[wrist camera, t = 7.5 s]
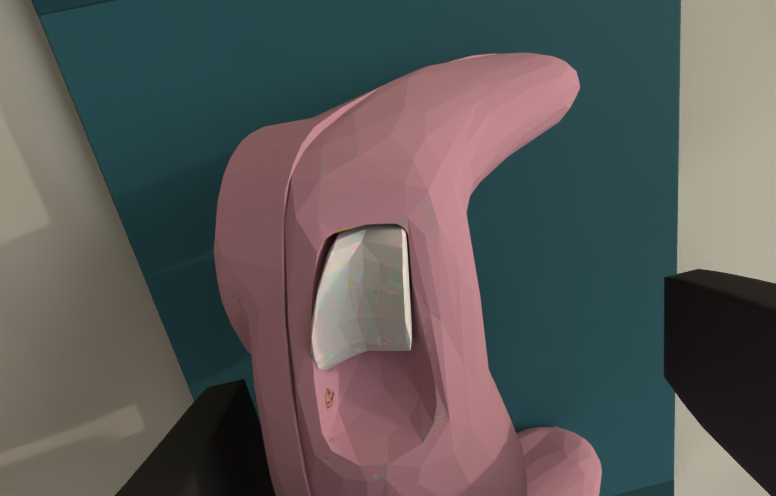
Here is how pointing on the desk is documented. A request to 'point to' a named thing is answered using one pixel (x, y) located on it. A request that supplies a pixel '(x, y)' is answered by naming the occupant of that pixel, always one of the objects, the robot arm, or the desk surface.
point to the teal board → (486, 203)
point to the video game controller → (387, 288)
